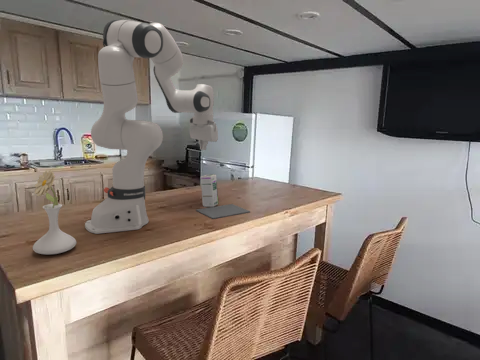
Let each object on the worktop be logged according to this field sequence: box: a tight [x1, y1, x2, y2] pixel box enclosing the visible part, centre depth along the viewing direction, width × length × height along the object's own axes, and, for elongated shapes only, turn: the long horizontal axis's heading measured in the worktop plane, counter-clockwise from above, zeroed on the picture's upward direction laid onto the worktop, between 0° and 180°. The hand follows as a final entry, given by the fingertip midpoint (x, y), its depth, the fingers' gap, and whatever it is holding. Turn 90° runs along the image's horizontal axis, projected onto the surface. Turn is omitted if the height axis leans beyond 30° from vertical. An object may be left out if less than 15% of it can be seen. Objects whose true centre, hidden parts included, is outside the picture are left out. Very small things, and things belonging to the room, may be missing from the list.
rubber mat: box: [195, 203, 251, 220], centre depth 143 cm, size 20×14×1 cm
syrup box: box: [200, 173, 219, 208], centre depth 150 cm, size 6×6×14 cm
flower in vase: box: [32, 169, 77, 255], centre depth 93 cm, size 13×11×25 cm
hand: (203, 149), depth 152 cm, fingers closed
